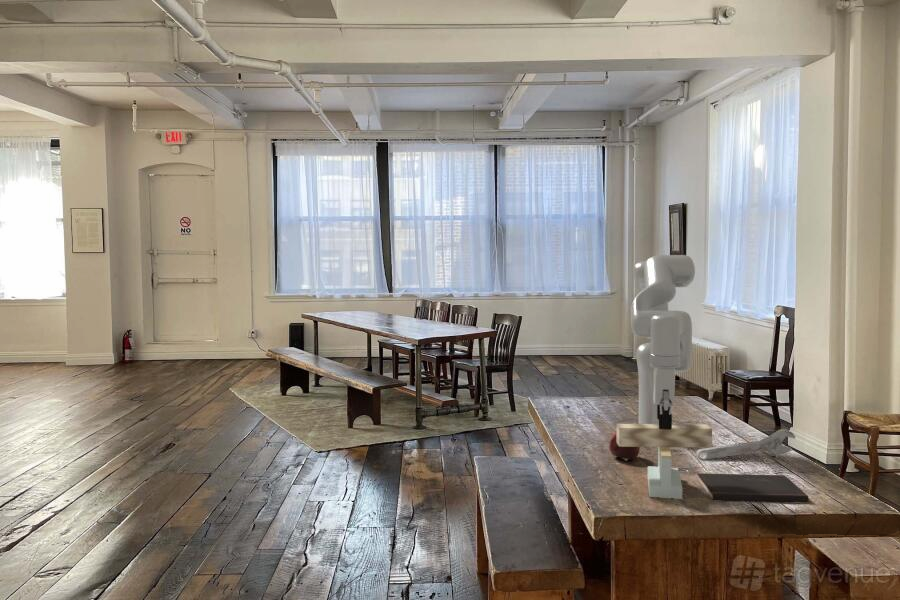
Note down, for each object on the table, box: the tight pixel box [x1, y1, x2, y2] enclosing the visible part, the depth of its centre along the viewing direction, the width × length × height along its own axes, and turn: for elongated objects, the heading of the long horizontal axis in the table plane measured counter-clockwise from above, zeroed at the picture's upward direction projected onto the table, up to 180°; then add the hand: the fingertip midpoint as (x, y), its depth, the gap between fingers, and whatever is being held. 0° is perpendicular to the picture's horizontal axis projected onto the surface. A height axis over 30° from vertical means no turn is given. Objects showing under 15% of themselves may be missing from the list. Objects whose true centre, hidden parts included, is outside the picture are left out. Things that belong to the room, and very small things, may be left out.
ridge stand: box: [647, 447, 683, 500], centre depth 185 cm, size 16×8×11 cm, turn 166°
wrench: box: [695, 428, 796, 460], centre depth 210 cm, size 8×2×30 cm
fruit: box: [608, 432, 641, 462], centre depth 211 cm, size 9×10×10 cm
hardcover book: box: [696, 472, 810, 503], centre depth 182 cm, size 16×23×2 cm
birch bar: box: [616, 423, 713, 448], centre depth 187 cm, size 24×4×5 cm, turn 86°
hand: (664, 424), depth 186 cm, fingers open, 9 cm apart
